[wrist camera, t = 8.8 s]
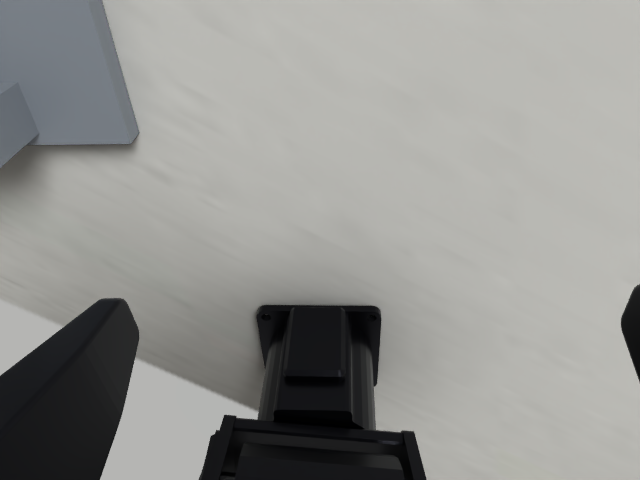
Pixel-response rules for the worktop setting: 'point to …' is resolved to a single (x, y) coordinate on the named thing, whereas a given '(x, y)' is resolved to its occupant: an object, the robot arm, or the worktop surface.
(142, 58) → the worktop surface
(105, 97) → the drive dock
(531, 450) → the worktop surface
